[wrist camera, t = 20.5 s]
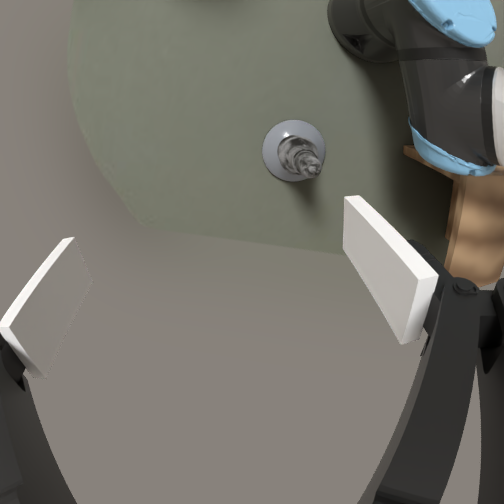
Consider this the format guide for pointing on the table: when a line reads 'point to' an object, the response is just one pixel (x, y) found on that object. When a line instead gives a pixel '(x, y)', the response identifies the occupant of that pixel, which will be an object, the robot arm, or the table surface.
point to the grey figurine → (299, 156)
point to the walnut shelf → (473, 224)
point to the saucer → (280, 133)
